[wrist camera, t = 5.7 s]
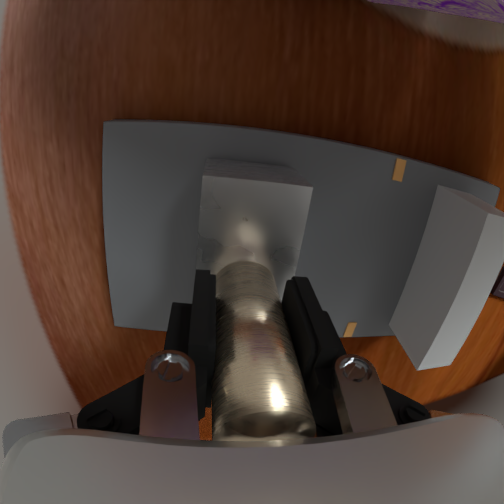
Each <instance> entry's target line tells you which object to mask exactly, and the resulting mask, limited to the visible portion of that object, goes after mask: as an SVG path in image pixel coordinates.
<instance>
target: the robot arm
mask: <svg viewBox="0 0 504 504" xmlns="http://www.w3.org/2000/svg"><path fill="white" fill-rule="evenodd" d="M281 303H282V307H283V310H284V314H285V317H286V321H287V324H288V328H289V332H290V335H291V339H292V342H293V346H294V349H295V353H296V356H297V360H298V364H299V367H300V371H301V374H302V378H303V382H304V385H305V389H306V392H307V396H308V400H309V403H310V407H311V411H312V414H313V418H314V422H315V425H316V434H315V436H314V438H305V439H292V440H273V441H206V440H200V438H199V425H198V421H199V420H200V419H202V418H203V417H205V407H210V408H211V399H212V379H213V376H214V365H215V354H216V275H215V274H210V270H201V269H196V273H195V282H194V291H193V300H192V304H190V303H178V302H173V303H172V306H171V312H170V317H169V323H168V328H167V334H166V340H165V346H164V350H163V351H159V352H156V353H155V354H153V355H151V356H150V358H149V359H148V360H147V362H146V365H145V374H144V375H142V376H140V377H138V378H137V379H135V380H133V381H131V382H129V383H127V384H126V385H124V386H122V387H120V388H118V389H116V390H114V391H112V392H111V393H109V394H107V395H105V396H103V397H101V398H99V399H97V400H95V401H93V402H91V403H90V404H88V405H86V406H85V407H84V408H82V410H81V411H80V412H79V414H74V415H70V413H69V412H66V413H60V414H54V415H48V416H42V417H34V418H27V419H19V420H15V421H12V422H10V423H9V424H8V425H7V426H6V427H5V429H4V431H3V437H2V438H3V448H4V457H5V459H4V461H3V463H2V465H1V468H0V504H504V427H503V425H502V424H501V423H500V422H499V421H498V420H496V419H495V418H493V417H490V416H487V415H483V414H474V413H462V414H461V413H460V414H450V413H444V412H439V411H434V410H431V411H430V412H428V411H427V409H426V408H425V407H424V406H423V405H421V404H420V403H418V402H416V401H414V400H412V399H410V398H408V397H406V396H404V395H402V394H400V393H398V392H396V391H395V390H393V389H391V388H389V387H387V386H385V385H383V384H381V381H380V379H379V377H378V374H377V372H376V369H375V367H374V366H373V364H372V363H371V362H370V361H369V360H367V359H365V358H364V357H361V356H358V355H354V354H346V351H345V349H344V347H343V345H342V343H341V340H340V338H339V336H338V334H337V331H336V329H335V327H334V325H333V323H332V320H331V318H330V316H329V314H328V312H327V311H323V310H322V308H321V306H320V303H319V301H318V299H317V297H316V295H315V292H314V290H313V288H312V286H311V283H310V281H309V279H308V278H307V277H298V276H293V277H292V278H291V280H287V281H286V285H285V289H284V293H283V298H282V302H281Z"/></svg>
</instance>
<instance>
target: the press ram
mask: <svg viewBox="0 0 504 504" xmlns="http://www.w3.org/2000/svg"><path fill="white" fill-rule="evenodd" d="M312 191H313V187H312V186H311V185H310V184H309V183H308V182H307V181H306V180H305V179H304V178H303V177H302V176H301V175H300V174H299V173H298V172H297V171H296V170H295V169H294V168H293V167H287V166H279V165H271V164H262V163H254V162H244V161H234V160H224V159H212V158H207V160H206V164H205V168H204V172H203V178H202V189H201V202H200V215H199V229H198V244H197V261H196V269H201V270H210V274H215V275H216V354H215V365H214V376H213V379H212V441H273V440H292V439H305V438H314V436H315V434H316V425H315V422H314V418H313V414H312V411H311V407H310V403H309V400H308V396H307V392H306V389H305V385H304V382H303V378H302V374H301V371H300V367H299V364H298V360H297V356H296V353H295V349H294V346H293V342H292V339H291V335H290V332H289V328H288V324H287V321H286V317H285V314H284V310H283V307H282V303H281V302H282V298H283V293H284V289H285V285H286V281H287V280H291V278H292V277H293V276H295V272H296V268H297V263H298V258H299V254H300V249H301V245H302V240H303V235H304V230H305V226H306V221H307V216H308V211H309V206H310V201H311V196H312Z"/></svg>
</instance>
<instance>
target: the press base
mask: <svg viewBox="0 0 504 504" xmlns="http://www.w3.org/2000/svg"><path fill="white" fill-rule="evenodd" d="M207 158H212V159H224V160H234V161H244V162H254V163H262V164H271V165H279V166H287V167H293V168H294V169H295V170H296V171H297V172H298V173H299V174H300V175H301V176H302V177H303V178H304V179H305V180H306V181H307V182H308V183H309V184H310V185H311V186H312V187H313V191H312V196H311V201H310V206H309V211H308V216H307V221H306V226H305V230H304V235H303V240H302V245H301V249H300V254H299V258H298V263H297V268H296V272H295V276H298V277H307V278H308V279H309V281H310V283H311V286H312V288H313V290H314V292H315V295H316V297H317V299H318V301H319V303H320V306H321V308H322V310H323V311H327V312H328V314H329V316H330V318H331V320H332V323H333V325H334V327H335V329H336V331H337V334H338V336H339V337H369V336H391V335H395V336H396V337H397V339H398V340H399V342H400V344H401V345H402V347H403V348H404V350H405V352H406V353H407V355H408V357H409V358H410V360H411V362H412V363H413V365H414V367H415V368H416V370H423V369H429V368H435V367H441V366H447V365H451V363H452V361H453V360H454V358H455V357H456V355H457V353H458V352H459V350H460V348H461V347H462V345H463V343H464V342H465V340H466V338H467V336H468V335H469V333H470V331H471V329H472V327H473V325H474V324H475V322H476V320H477V318H478V316H479V314H480V312H481V310H482V308H483V306H484V304H485V302H486V300H487V298H488V296H489V294H490V292H491V290H492V287H493V285H494V283H495V281H496V279H497V276H498V274H499V272H500V269H501V267H502V264H503V262H504V212H502V211H500V210H498V209H497V208H495V205H496V201H497V198H498V194H499V191H500V188H499V187H497V186H495V185H493V184H491V183H489V182H486V181H484V180H481V179H478V178H475V177H472V176H469V175H466V174H463V173H460V172H457V171H454V170H451V169H448V168H445V167H441V166H438V165H435V164H431V163H428V162H424V161H421V160H417V159H414V158H410V157H406V156H402V155H398V154H394V153H391V152H386V151H382V150H378V149H374V148H369V147H365V146H361V145H356V144H351V143H346V142H341V141H336V140H331V139H326V138H320V137H315V136H309V135H303V134H297V133H291V132H284V131H277V130H270V129H262V128H254V127H245V126H236V125H226V124H215V123H203V122H189V121H170V120H136V119H113V120H109V121H104V123H103V150H102V193H103V220H104V237H105V250H106V262H107V272H108V281H109V290H110V297H111V305H112V312H113V319H114V325H115V326H119V327H128V328H137V329H147V330H157V331H167V328H168V323H169V317H170V312H171V306H172V303H173V302H178V303H190V304H192V300H193V291H194V282H195V273H196V261H197V244H198V229H199V215H200V202H201V189H202V178H203V172H204V168H205V164H206V160H207Z"/></svg>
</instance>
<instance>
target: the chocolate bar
mask: <svg viewBox="0 0 504 504" xmlns="http://www.w3.org/2000/svg"><path fill="white" fill-rule="evenodd" d="M491 293H492V294H493V295H495V296H498V297H501V298H504V267H503V269H502V270H501V272H500V274H499V276H498V278H497V280H496V281H495V283H494V285H493V287H492V290H491Z"/></svg>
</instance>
